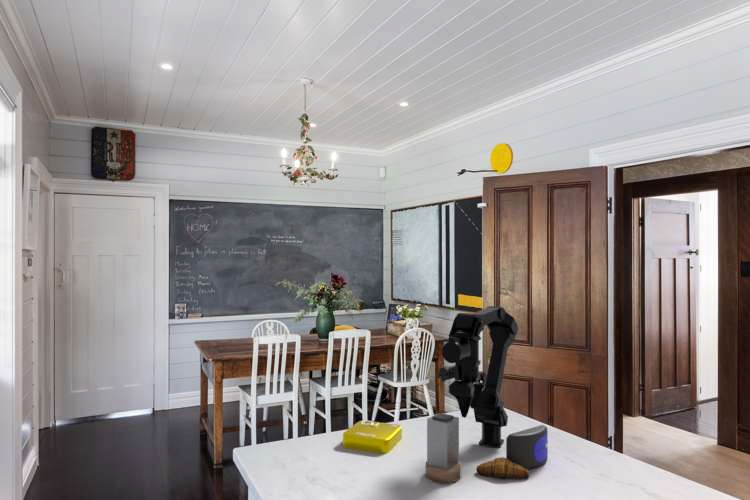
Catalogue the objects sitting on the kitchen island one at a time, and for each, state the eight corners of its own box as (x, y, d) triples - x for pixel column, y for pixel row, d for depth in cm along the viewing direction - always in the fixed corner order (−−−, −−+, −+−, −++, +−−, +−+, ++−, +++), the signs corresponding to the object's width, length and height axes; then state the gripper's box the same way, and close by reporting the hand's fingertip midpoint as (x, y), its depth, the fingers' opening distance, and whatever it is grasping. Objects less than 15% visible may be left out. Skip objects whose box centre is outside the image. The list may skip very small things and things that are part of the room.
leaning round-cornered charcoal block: (518, 475, 133) (518, 439, 133) (504, 469, 136) (504, 434, 136) (556, 461, 142) (556, 427, 142) (543, 456, 146) (542, 423, 146)
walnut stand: (432, 466, 138) (432, 455, 138) (464, 472, 134) (464, 461, 134) (420, 479, 130) (420, 467, 130) (454, 486, 126) (454, 474, 126)
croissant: (527, 473, 134) (527, 454, 134) (530, 484, 128) (530, 464, 128) (476, 468, 137) (476, 450, 137) (476, 479, 130) (476, 460, 130)
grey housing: (439, 457, 136) (439, 411, 136) (458, 463, 132) (458, 415, 133) (427, 465, 131) (427, 416, 132) (447, 471, 128) (447, 421, 128)
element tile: (340, 448, 152) (340, 432, 152) (360, 432, 166) (360, 418, 166) (387, 455, 146) (387, 439, 147) (403, 438, 160) (403, 423, 161)
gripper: (450, 349, 156) (450, 400, 155) (430, 360, 139) (430, 418, 138) (487, 352, 151) (487, 405, 150) (470, 364, 134) (470, 423, 134)
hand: (468, 412), depth 143 cm, fingers open, 9 cm apart
